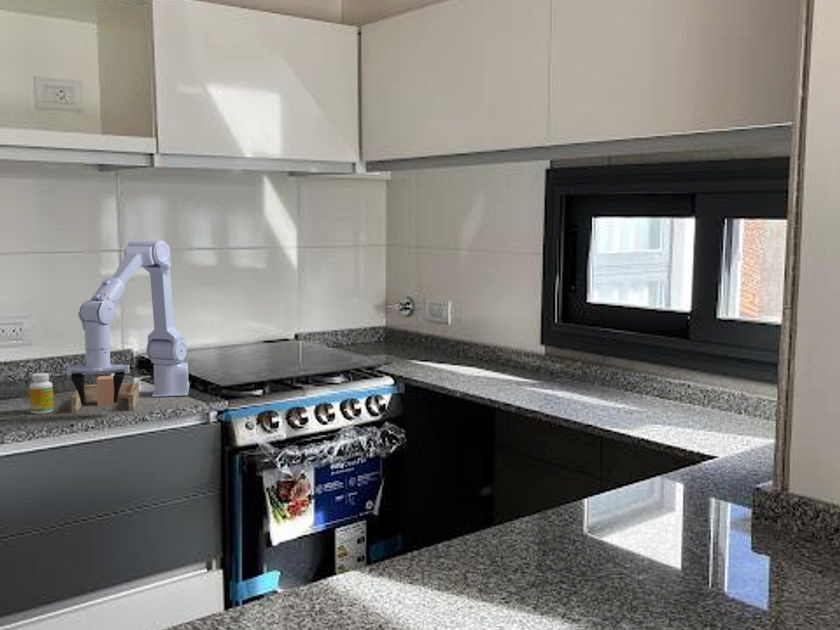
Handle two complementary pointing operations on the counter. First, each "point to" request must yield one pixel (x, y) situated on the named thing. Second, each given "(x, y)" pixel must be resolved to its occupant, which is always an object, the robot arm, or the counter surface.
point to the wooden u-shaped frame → (125, 392)
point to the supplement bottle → (41, 394)
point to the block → (105, 390)
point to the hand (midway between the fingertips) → (99, 402)
